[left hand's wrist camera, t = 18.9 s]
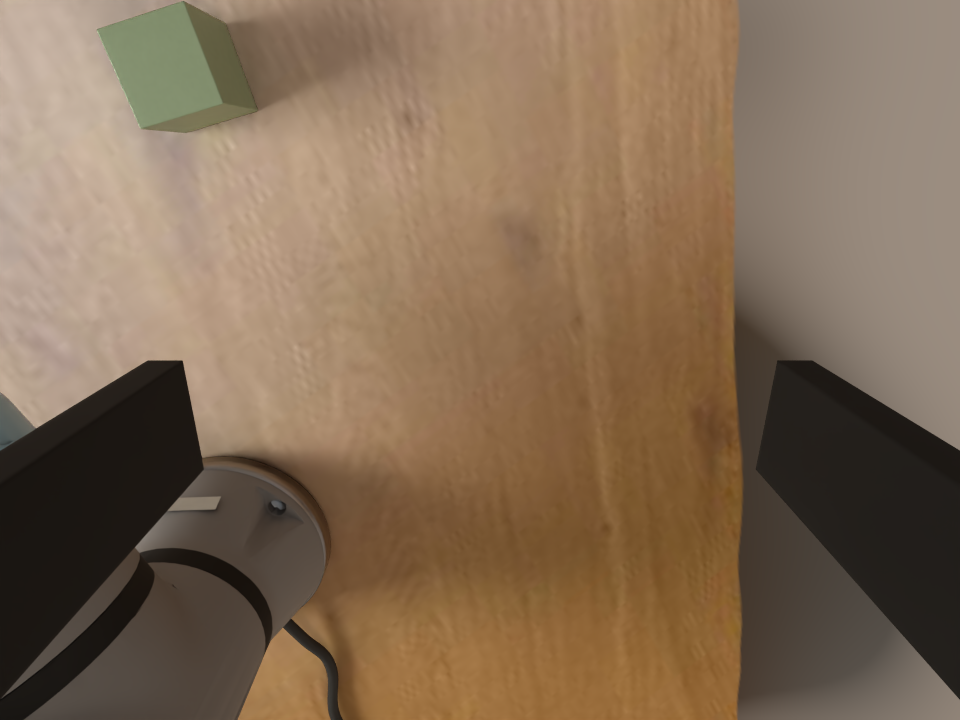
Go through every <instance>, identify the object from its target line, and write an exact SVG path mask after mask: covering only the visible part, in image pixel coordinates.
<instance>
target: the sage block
mask: <svg viewBox="0 0 960 720" xmlns="http://www.w3.org/2000/svg"><path fill="white" fill-rule="evenodd" d="M97 32H98V34H99V37H100V39H101V41H102V43H103V46H104V48H105V50H106V52H107V55H108V57H109V59H110V61H111V64H112V66H113V68H114V70H115V73H116V75H117V77H118V79H119V82H120V84H121V86H122V88H123V91H124V93H125V95H126V97H127V100H128V102H129V104H130V106H131V109H132V111H133V113H134V115H135V118H136V120H137V122H138V124H139V127H140V129H146V130H158V131H170V132H182V133H187V132H191V131H194V130H197V129H200V128H204V127H207V126H210V125H214V124H217V123H220V122H223V121H227V120H230V119H233V118H237V117H240V116H243V115H246V114H250V113H253V112H256V111H258V109H257V107H256V104H255V101H254V99H253V96H252V93H251V91H250V88H249V85H248V82H247V80H246V77H245V74H244V72H243V69H242V66H241V64H240V61H239V58H238V56H237V53H236V50H235V47H234V45H233V42H232V39H231V37H230V34H229V31H228V29H227V26H226V24H225V23H224V22H222V21H220V20H218V19H217V18H215V17H213V16H211V15H209V14H207V13H205V12H203V11H201V10H200V9H198V8H196V7H194V6H192V5H190V4H188V3H186V2H184V1H182V2H179V3H176V4H173V5H170V6H167V7H164V8H161V9H157V10H154V11H151V12H148V13H145V14H142V15H139V16H136V17H133V18H130V19H127V20H124V21H121V22H118V23H115V24H112V25H109V26H106V27H103V28H100V29H97Z"/></svg>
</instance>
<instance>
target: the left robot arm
mask: <svg viewBox="0 0 960 720" xmlns="http://www.w3.org/2000/svg"><path fill="white" fill-rule="evenodd" d="M756 470H757V471H758V472H759V473H760V475H761V476H762V477H763V478H764V479H765V480H766V481H767V482H768V484H769V485H770V486H771V487H772V488H773V489H774V490H775V491H776V493H777V494H778V495H779V496H780V497H781V498H782V499H783V500H784V502H785V503H786V504H787V505H788V506H789V507H790V508H791V510H792V511H793V512H794V513H795V514H796V515H797V516H798V517H799V519H800V520H801V521H802V522H803V523H804V524H805V525H806V526H807V528H808V529H809V530H810V531H811V532H812V533H813V534H814V535H815V537H816V538H817V539H818V540H819V541H820V542H821V543H822V545H823V546H824V547H825V548H826V549H827V550H828V551H829V552H830V554H831V555H832V556H833V557H834V558H835V559H836V560H837V561H838V563H839V564H840V565H841V566H842V567H843V568H844V569H845V570H846V572H847V573H848V574H849V575H850V576H851V577H852V578H853V579H854V581H855V582H856V583H857V584H858V585H859V586H860V587H861V588H862V590H863V591H864V592H865V593H866V594H867V595H868V596H869V598H870V599H871V600H872V601H873V602H874V603H875V604H876V605H877V607H878V608H879V609H880V610H881V611H882V612H883V613H884V615H885V616H886V617H887V618H888V619H889V620H890V621H891V622H892V624H893V625H894V626H895V627H896V628H897V629H898V630H899V631H900V633H901V634H902V635H903V636H904V637H905V638H906V639H907V640H908V642H909V643H910V644H911V645H912V646H913V647H914V648H915V650H916V651H917V652H918V653H919V654H920V655H921V656H922V657H923V659H924V660H925V661H926V662H927V663H928V664H929V665H930V666H931V668H932V669H933V670H934V671H935V672H936V673H937V674H938V675H939V677H940V678H941V679H942V680H943V681H944V682H945V683H946V685H947V686H948V687H949V688H950V689H951V690H952V691H953V692H954V694H955V695H956V696H957V697H958V698H959V699H960V450H958V449H956V448H955V447H953V446H951V445H950V444H948V443H946V442H945V441H943V440H941V439H940V438H938V437H937V436H935V435H933V434H932V433H930V432H928V431H927V430H925V429H923V428H922V427H920V426H919V425H917V424H915V423H914V422H912V421H910V420H909V419H907V418H905V417H904V416H902V415H900V414H899V413H897V412H896V411H894V410H892V409H891V408H889V407H887V406H886V405H884V404H883V403H881V402H879V401H878V400H876V399H874V398H873V397H871V396H869V395H868V394H866V393H864V392H863V391H861V390H860V389H858V388H856V387H855V386H853V385H851V384H850V383H848V382H846V381H845V380H843V379H842V378H840V377H838V376H837V375H835V374H833V373H832V372H830V371H828V370H827V369H825V368H823V367H822V366H820V365H819V364H817V363H815V362H814V361H777V366H776V371H775V376H774V381H773V386H772V391H771V396H770V401H769V406H768V411H767V416H766V421H765V426H764V431H763V436H762V441H761V446H760V451H759V456H758V461H757V466H756ZM330 548H331V541H330V533H329V528H328V525H327V522H326V519H325V517H324V515H323V513H322V511H321V509H320V507H319V506H318V504H317V503H316V501H315V500H314V499H313V498H312V496H311V495H310V494H309V493H308V492H307V491H306V490H305V489H304V488H303V487H302V486H301V485H300V484H298V483H297V482H296V481H295V480H293V479H292V478H290V477H289V476H288V475H286V474H284V473H283V472H281V471H279V470H277V469H275V468H273V467H271V466H268V465H266V464H263V463H260V462H257V461H253V460H249V459H244V458H237V457H210V458H203V459H202V456H201V451H200V446H199V441H198V436H197V431H196V426H195V421H194V416H193V411H192V406H191V401H190V396H189V391H188V386H187V381H186V376H185V371H184V366H183V361H146V362H145V363H143V364H141V365H140V366H138V367H136V368H135V369H133V370H132V371H130V372H128V373H127V374H125V375H123V376H122V377H120V378H118V379H117V380H115V381H114V382H112V383H110V384H109V385H107V386H105V387H104V388H102V389H100V390H99V391H97V392H95V393H94V394H92V395H91V396H89V397H87V398H86V399H84V400H82V401H81V402H79V403H77V404H76V405H74V406H73V407H71V408H69V409H68V410H66V411H64V412H63V413H61V414H59V415H58V416H56V417H55V418H53V419H51V420H50V421H48V422H46V423H45V424H43V425H41V426H40V427H38V428H35V427H34V426H33V425H32V424H31V423H30V422H29V421H28V420H27V419H26V417H25V416H24V415H23V414H22V413H21V412H20V411H19V410H18V409H17V408H16V407H15V406H14V404H13V403H12V402H11V401H10V400H9V399H8V398H7V397H6V396H4V395H3V394H2V393H0V720H238V717H239V715H240V712H241V710H242V708H243V705H244V703H245V700H246V698H247V695H248V693H249V691H250V688H251V686H252V683H253V681H254V679H255V676H256V674H257V671H258V669H259V667H260V664H261V662H262V659H263V657H264V654H265V652H266V650H267V647H268V645H269V643H270V641H271V640H272V639H273V638H274V636H275V635H276V634H277V633H278V632H279V631H280V630H281V629H282V628H284V629H285V630H286V631H287V632H288V633H289V634H290V635H292V636H293V637H294V638H295V639H296V640H297V641H298V642H299V643H300V644H301V645H302V646H304V647H305V648H306V649H308V650H309V651H310V652H312V653H313V654H315V655H316V656H317V657H319V658H320V659H321V661H322V662H323V664H324V666H325V668H326V671H327V675H328V711H329V715H330V718H331V720H343V719H342V717H341V715H340V712H339V708H338V672H337V667H336V664H335V661H334V659H333V657H332V655H331V654H330V653H329V652H328V650H327V649H326V648H325V647H323V646H322V645H321V644H320V643H318V642H317V641H315V640H314V639H313V638H311V637H310V636H309V635H308V634H307V633H306V632H305V631H303V630H302V629H301V628H300V627H299V626H298V625H297V624H296V623H295V622H294V621H293V620H292V619H291V618H292V617H293V616H294V614H295V613H296V612H297V611H298V610H299V609H300V608H301V607H302V606H303V605H305V604H306V603H307V602H308V601H309V600H310V598H311V597H312V596H313V595H314V593H315V592H316V590H317V588H318V587H319V584H320V582H321V580H322V577H323V574H324V572H325V569H326V566H327V563H328V560H329V556H330Z"/></svg>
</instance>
